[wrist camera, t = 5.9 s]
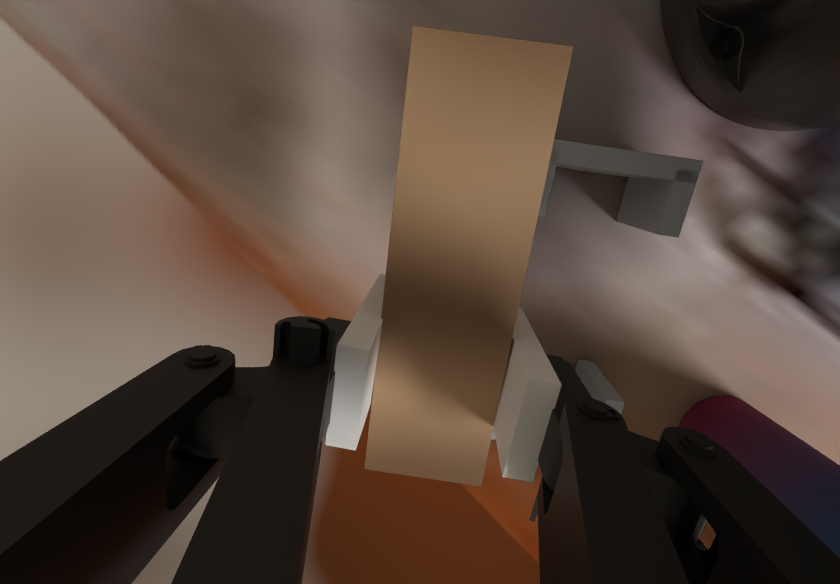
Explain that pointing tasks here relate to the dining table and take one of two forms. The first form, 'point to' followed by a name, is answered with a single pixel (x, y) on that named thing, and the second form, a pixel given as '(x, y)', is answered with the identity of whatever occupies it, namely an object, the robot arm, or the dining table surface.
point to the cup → (775, 462)
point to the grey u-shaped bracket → (634, 182)
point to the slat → (460, 245)
